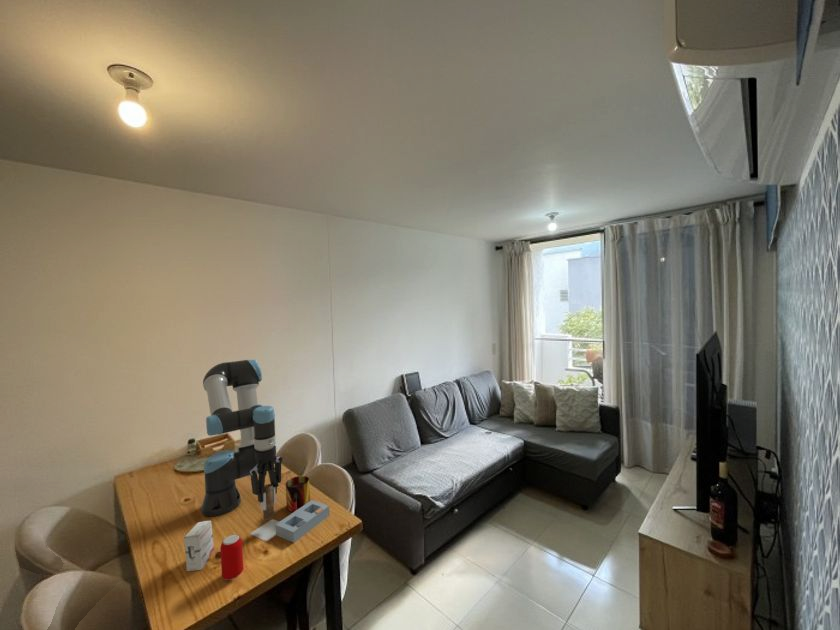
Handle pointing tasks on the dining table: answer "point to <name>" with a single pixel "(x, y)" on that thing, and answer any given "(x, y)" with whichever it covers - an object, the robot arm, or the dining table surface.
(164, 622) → the dining table surface
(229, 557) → the beverage can
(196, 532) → the ink box
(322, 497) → the dining table surface
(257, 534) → the white flat square
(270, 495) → the plug
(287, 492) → the mug
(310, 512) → the socket block
